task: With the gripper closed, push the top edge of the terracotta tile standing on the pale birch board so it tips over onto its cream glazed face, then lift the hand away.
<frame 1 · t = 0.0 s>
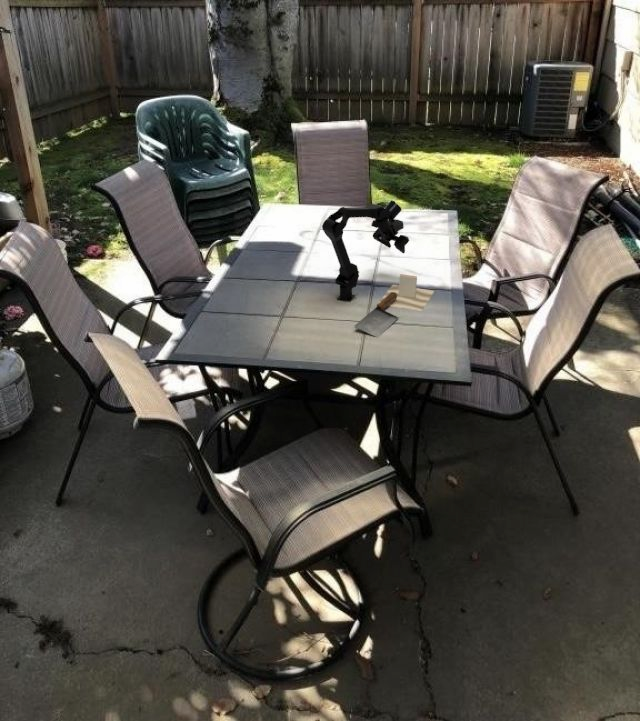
hand: (397, 249, 306), 15 cm above the table, tool tilted 35°, fingers open, 9 cm apart
board: (406, 299, 295), on the table
tile: (407, 296, 295), point 1 cm above the table, touching board
meat cleaver: (384, 317, 279), on the table, touching board
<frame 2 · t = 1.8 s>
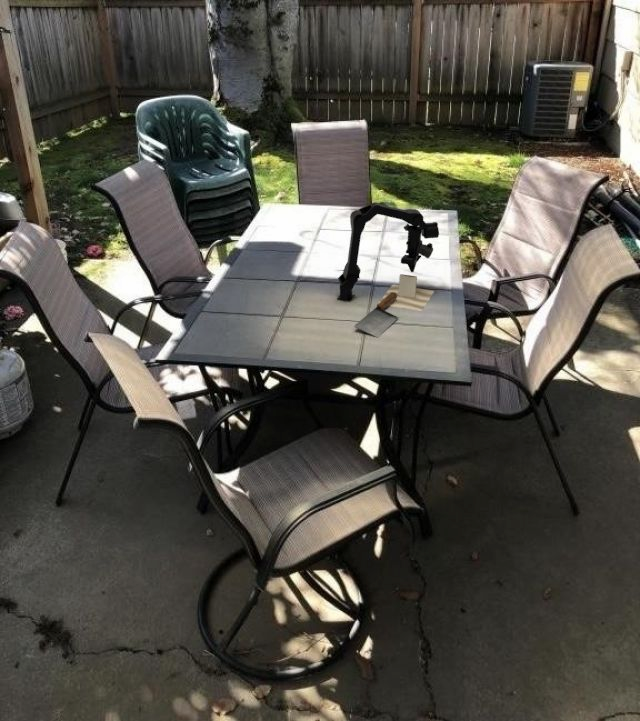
hand: (412, 272, 296), 10 cm above the table, tool pointing down, fingers closed
nothing on the table moved.
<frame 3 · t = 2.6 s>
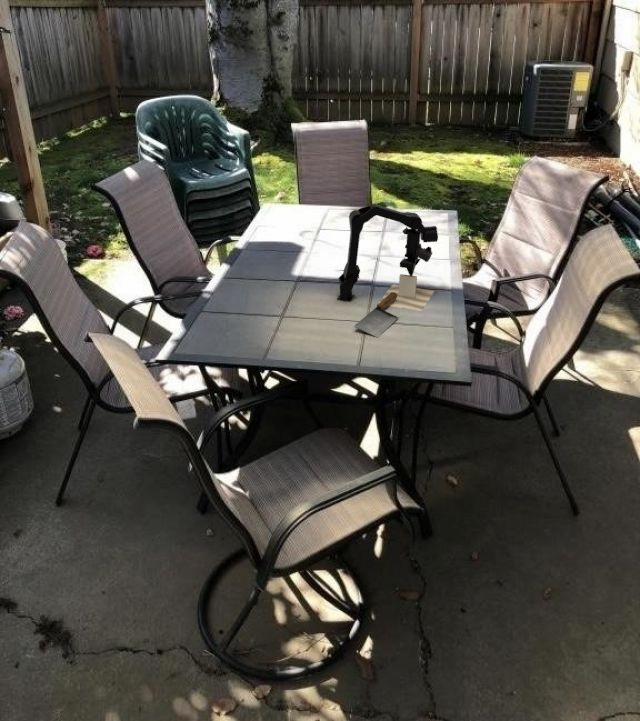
hand: (411, 275, 295), 9 cm above the table, tool pointing down, fingers closed
nothing on the table moved.
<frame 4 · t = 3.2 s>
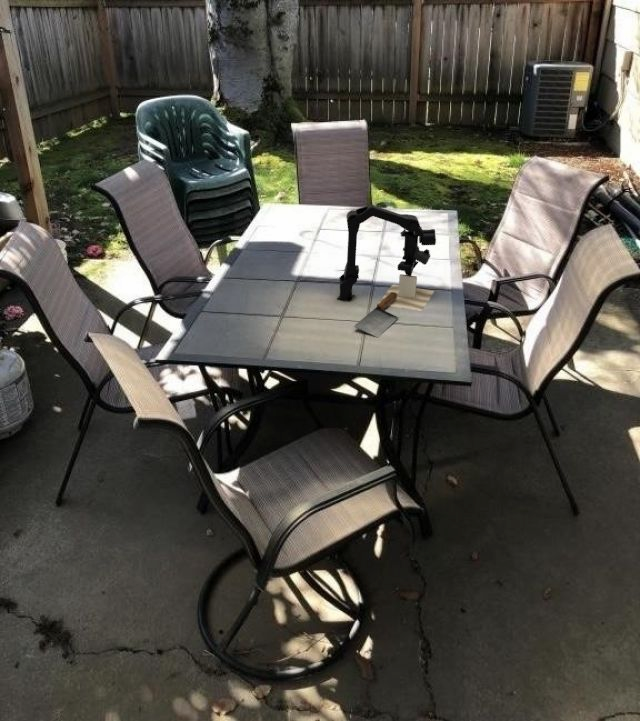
hand: (409, 278, 293), 9 cm above the table, tool pointing down, fingers closed
tile: (407, 296, 295), point 1 cm above the table, touching board, gripper
everything else where it was.
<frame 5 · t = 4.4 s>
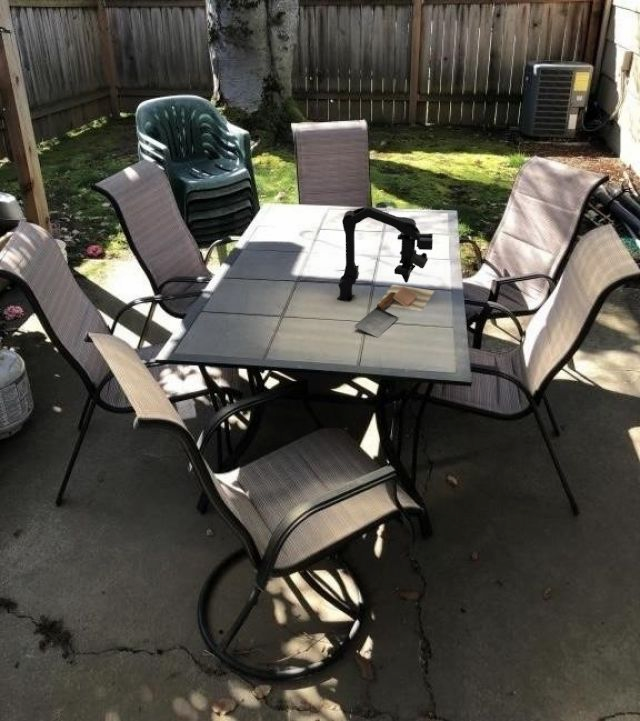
hand: (406, 282, 289), 9 cm above the table, tool pointing down, fingers closed
tile: (409, 292, 293), point 3 cm above the table, tilted 90°, touching board, meat cleaver
meat cleaver: (384, 317, 279), on the table, touching board, tile
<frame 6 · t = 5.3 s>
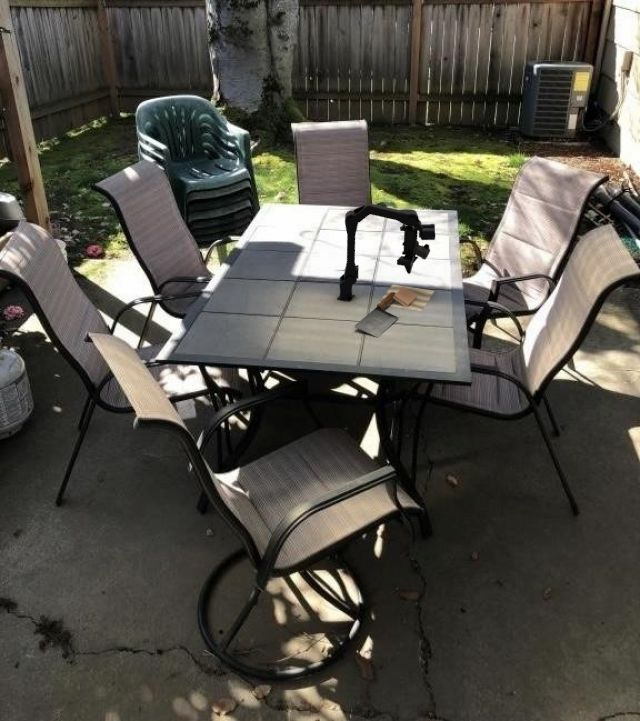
hand: (409, 273, 290), 12 cm above the table, tool pointing down, fingers closed
nothing on the table moved.
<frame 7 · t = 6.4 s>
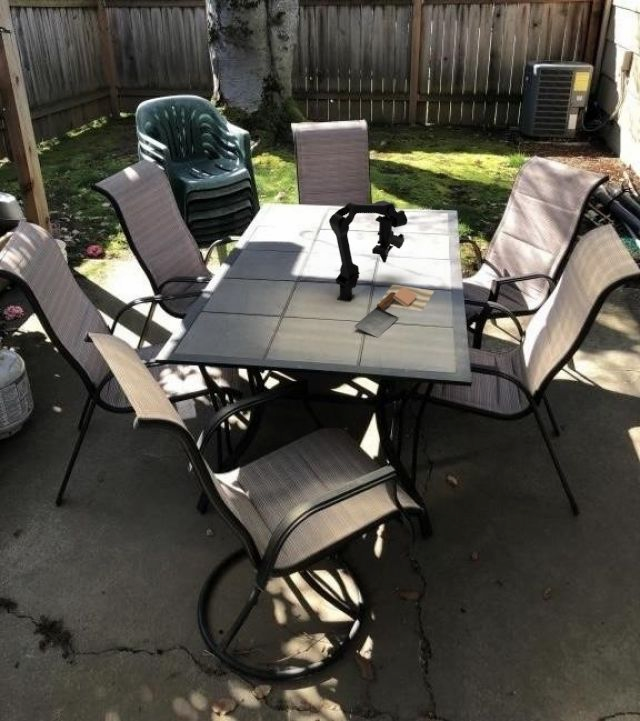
hand: (384, 262, 301), 12 cm above the table, tool pointing down, fingers closed
tile: (409, 292, 293), point 3 cm above the table, tilted 90°, touching board
meat cleaver: (384, 317, 279), on the table, touching board
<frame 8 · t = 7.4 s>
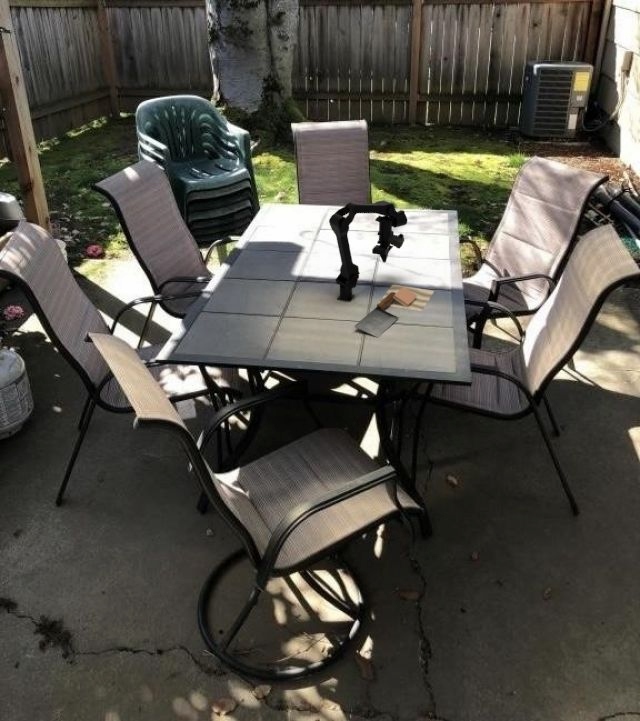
hand: (384, 262, 301), 12 cm above the table, tool pointing down, fingers closed
tile: (409, 292, 293), point 3 cm above the table, tilted 90°, touching board, meat cleaver
meat cleaver: (384, 317, 279), on the table, touching board, tile
at the end: tile tilted 90°; tile inside the target area (1.2 cm from its centre), point 3.3 cm above the table; the gripper is holding nothing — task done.
